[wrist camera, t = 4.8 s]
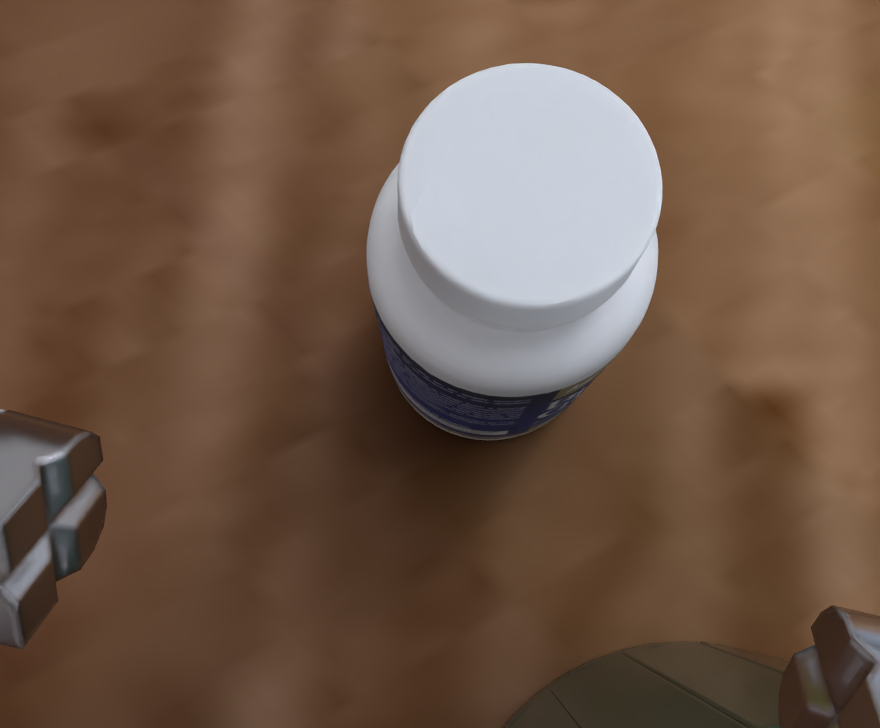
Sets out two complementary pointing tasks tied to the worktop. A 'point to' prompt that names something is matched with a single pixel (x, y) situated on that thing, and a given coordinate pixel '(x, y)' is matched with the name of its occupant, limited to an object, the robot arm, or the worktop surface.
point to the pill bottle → (513, 247)
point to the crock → (662, 690)
